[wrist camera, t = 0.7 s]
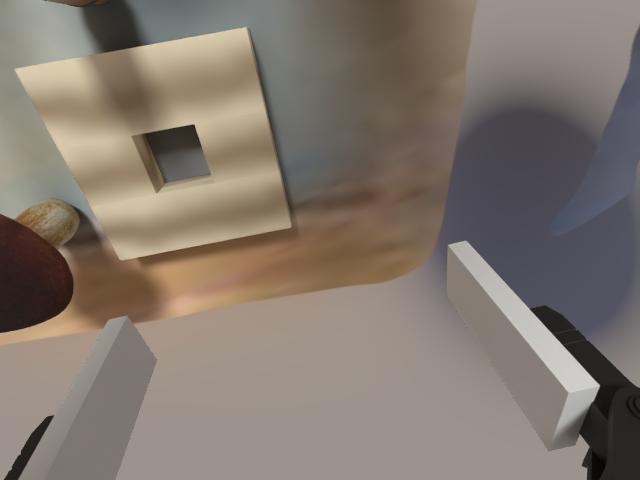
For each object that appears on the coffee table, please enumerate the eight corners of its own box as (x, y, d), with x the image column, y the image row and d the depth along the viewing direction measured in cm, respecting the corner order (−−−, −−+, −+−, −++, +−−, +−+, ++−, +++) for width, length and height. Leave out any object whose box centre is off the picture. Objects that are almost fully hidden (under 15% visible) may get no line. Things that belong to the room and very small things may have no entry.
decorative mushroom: (30, 136, 31) (-139, 204, 19) (142, 207, 36) (70, 300, 23) (-17, 218, 35) (-188, 324, 22) (92, 274, 39) (4, 388, 26)
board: (37, 66, 29) (14, 69, 26) (248, 28, 29) (246, 27, 27) (130, 245, 38) (120, 260, 35) (290, 214, 38) (291, 227, 36)
